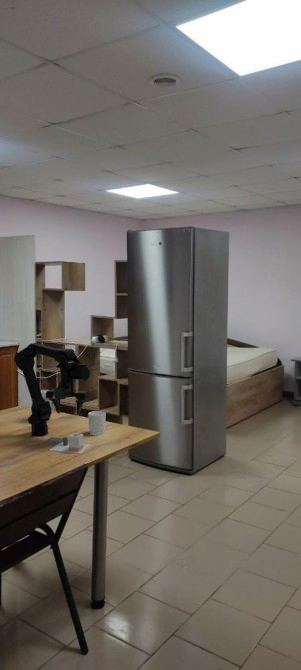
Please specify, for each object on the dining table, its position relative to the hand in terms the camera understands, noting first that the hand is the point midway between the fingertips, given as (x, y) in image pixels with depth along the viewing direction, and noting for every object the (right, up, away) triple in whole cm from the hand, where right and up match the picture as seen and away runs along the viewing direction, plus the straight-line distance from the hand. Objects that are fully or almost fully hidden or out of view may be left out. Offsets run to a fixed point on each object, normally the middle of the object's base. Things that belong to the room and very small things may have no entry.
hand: (68, 414), depth 218 cm
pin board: (+3, -13, -10) cm, 17 cm away
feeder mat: (-6, -12, +1) cm, 13 cm away
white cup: (+12, -11, +10) cm, 19 cm away
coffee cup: (-18, -9, +35) cm, 41 cm away
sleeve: (+5, -12, -13) cm, 19 cm away
